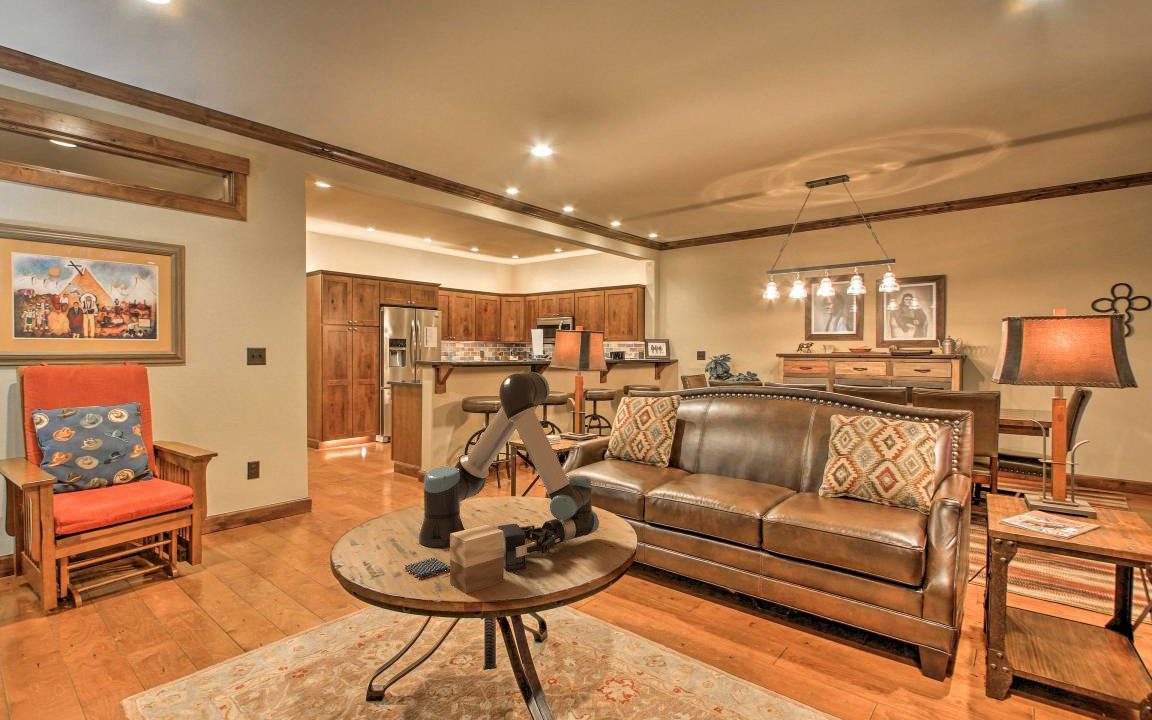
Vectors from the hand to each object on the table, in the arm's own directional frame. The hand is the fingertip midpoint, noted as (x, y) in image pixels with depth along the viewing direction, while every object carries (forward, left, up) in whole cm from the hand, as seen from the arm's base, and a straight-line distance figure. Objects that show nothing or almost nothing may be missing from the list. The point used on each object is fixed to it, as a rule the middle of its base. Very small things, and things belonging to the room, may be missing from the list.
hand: (502, 546), depth 165 cm
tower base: (+5, -12, -6) cm, 14 cm away
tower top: (+5, -12, +1) cm, 13 cm away
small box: (0, +3, -6) cm, 7 cm away
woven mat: (-12, -18, -7) cm, 23 cm away
